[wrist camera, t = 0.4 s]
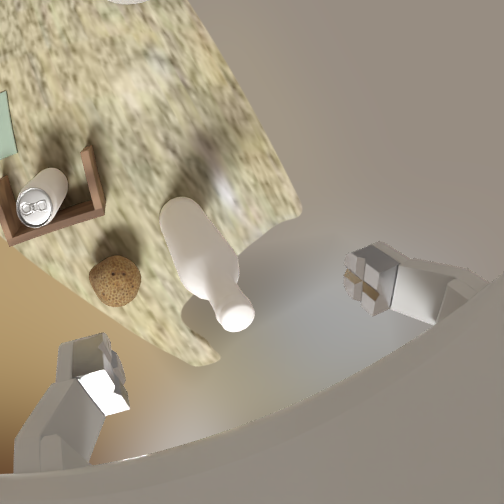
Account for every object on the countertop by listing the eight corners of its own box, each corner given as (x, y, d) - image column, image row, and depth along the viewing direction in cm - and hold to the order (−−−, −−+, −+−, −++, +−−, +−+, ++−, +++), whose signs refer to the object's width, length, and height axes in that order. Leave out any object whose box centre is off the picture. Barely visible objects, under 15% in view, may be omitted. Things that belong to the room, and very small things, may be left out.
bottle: (166, 243, 57) (213, 359, 32) (152, 205, 53) (188, 306, 28) (206, 227, 59) (280, 329, 34) (194, 189, 54) (268, 272, 30)
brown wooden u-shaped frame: (2, 177, 39) (-12, 187, 33) (92, 145, 44) (88, 150, 38) (19, 231, 44) (9, 246, 39) (105, 202, 49) (104, 215, 44)
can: (31, 170, 41) (9, 189, 31) (66, 164, 43) (51, 180, 33) (37, 207, 44) (18, 234, 34) (71, 201, 46) (59, 227, 36)
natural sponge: (147, 275, 58) (154, 305, 50) (108, 295, 56) (109, 327, 48) (125, 236, 53) (128, 262, 45) (84, 258, 51) (80, 287, 43)
